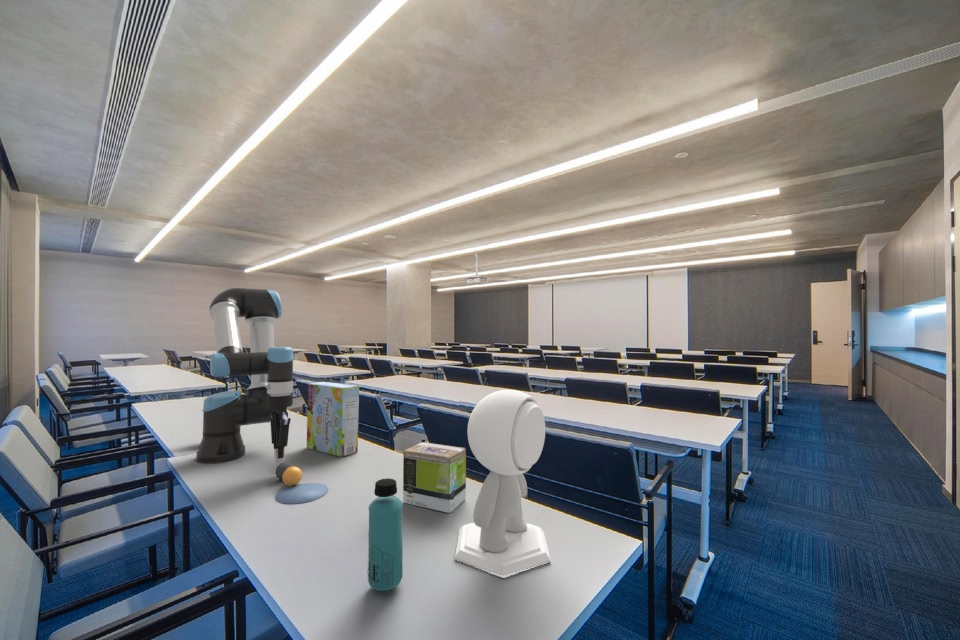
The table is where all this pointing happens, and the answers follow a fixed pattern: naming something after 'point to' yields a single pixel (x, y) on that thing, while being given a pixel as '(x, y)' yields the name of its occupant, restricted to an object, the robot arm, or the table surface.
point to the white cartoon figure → (504, 484)
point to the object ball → (292, 476)
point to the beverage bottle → (385, 537)
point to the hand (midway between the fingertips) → (279, 467)
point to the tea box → (434, 476)
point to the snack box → (333, 418)
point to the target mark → (301, 493)
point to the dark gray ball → (282, 469)
